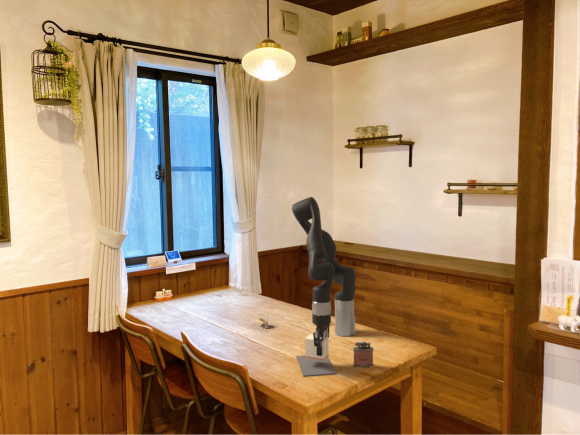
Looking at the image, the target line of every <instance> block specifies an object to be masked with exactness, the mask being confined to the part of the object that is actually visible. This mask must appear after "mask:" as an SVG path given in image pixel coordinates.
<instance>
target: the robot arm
mask: <svg viewBox="0 0 580 435" xmlns="http://www.w3.org/2000/svg"><path fill="white" fill-rule="evenodd" d="M291 211H292V214H293V216H294V218H295V220H296V221H297V223H298V224H299V225H300V227H301V228H302V229H303V231H304V232H305V233H306V235H307V237H306V249H307V253H308V268H307V276H308V278H309V279H310V280H311V281H314V282H315V281H317V282H318V281H323V282H322V283H320V284H318V285H314V286H313V287H312V304H311V308H312V309H311V315H312V316H311V318H312V319H311V322H312V324H313V325H314V326H316V328H315V331H314V332H313V338H314V346H315V347H317V356H322V341H324V337H329V338H330V326H331V324H332V304H331V288H332V285H333V283H335V285H339V286H340V285H341V286H342V288H341V290H339V291H336V292H335V293H334V333H335V334H334V335H336V336H340V337H351V336H353V335H356V315H355V304H354V303H355V302H354V301H355V299H354V298H355V294H356V293H355V292H356V281H357V280H356V278H357V277H356V275H357V274H356V271H355V269H354V268H353V267H350V266H346V265H341V264H340V263H339V261H338V260H337V258H336V254H337V245H336V242H335V240H334V239H333V236H331V234H330V233H329V232H327V231H326V230H324V229H322V219H321V210H320V206H319V204H318V202H317V200H316V199H315V198H314V197H313V196H310V197H306V198H304V199H302V200H298V201H297V202H295V203H293V204H292V206H291ZM310 220H311V222H310ZM320 261H322V262H320ZM320 338H322V339H320Z"/></svg>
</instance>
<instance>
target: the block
mask: <svg viewBox="0 0 580 435" xmlns="http://www.w3.org/2000/svg"><path fill="white" fill-rule="evenodd" d="M320 339H322V338H320ZM329 339H330V336H329V337H324V341H322V356H317V347H315V346H314V338H313V334H312V333H310V334H308V335H307V336H306V337H305V338H304V348H305V349H304V351H305V353H304V354H305V358H310V359H316V360H322V361H324V360H325V359H326V358H327V357H328V358H329V351H330V350H329V344H330V342H329Z"/></svg>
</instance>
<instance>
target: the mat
mask: <svg viewBox="0 0 580 435" xmlns="http://www.w3.org/2000/svg"><path fill="white" fill-rule="evenodd" d="M295 357H296V360H297V363H298V365H299V368H300V370H301V373H302V377H316V376H326V375H327V376H329V375H337V372H336V370H335V367H334V366H333V364H332V362H331V360H330V359H329V356H328V357H327V358H326V359H325V360H324V361H322V360H316V359H310V358H305V355H304V354H303V355H296V356H295Z"/></svg>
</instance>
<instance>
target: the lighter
mask: <svg viewBox="0 0 580 435" xmlns="http://www.w3.org/2000/svg"><path fill="white" fill-rule="evenodd" d="M352 349H353V364H352V365H353V367H354V368H356V367H368V368H372V367H371V366H373V367H374V347H373V346H371V342H369V341H368V342H367V341H365V340H362V341H357V342H354V347H352Z"/></svg>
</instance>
